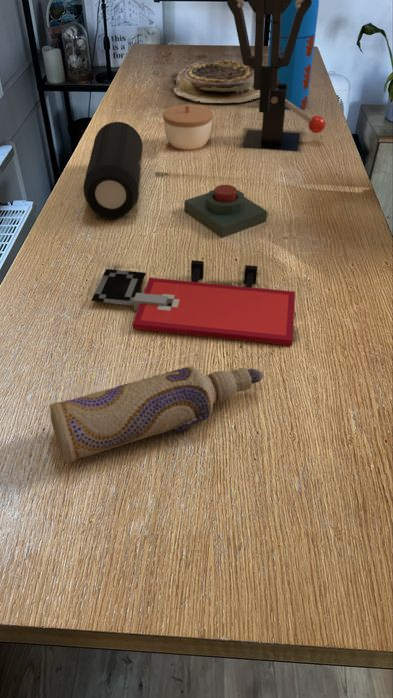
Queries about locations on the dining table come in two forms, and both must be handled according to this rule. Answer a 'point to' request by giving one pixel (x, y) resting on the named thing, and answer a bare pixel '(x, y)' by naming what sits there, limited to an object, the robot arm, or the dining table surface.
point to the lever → (308, 118)
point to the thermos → (297, 54)
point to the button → (225, 193)
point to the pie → (217, 82)
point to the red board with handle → (203, 306)
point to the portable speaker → (114, 170)
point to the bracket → (273, 126)
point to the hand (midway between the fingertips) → (264, 109)
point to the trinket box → (187, 126)
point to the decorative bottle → (142, 409)
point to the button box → (225, 213)
